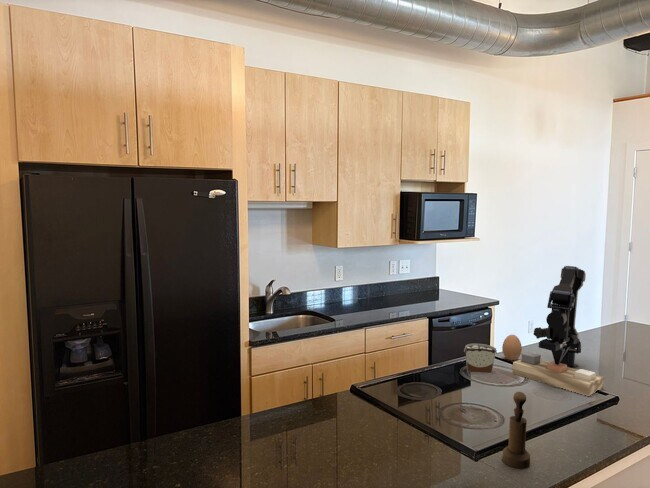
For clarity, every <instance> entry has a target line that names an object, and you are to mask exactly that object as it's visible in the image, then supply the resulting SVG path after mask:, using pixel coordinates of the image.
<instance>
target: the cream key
mask: <svg viewBox="0 0 650 488" xmlns="http://www.w3.org/2000/svg"><path fill="white" fill-rule="evenodd" d="M576 370H577V371H575V376H574V377H576V378H580V379H583V380H587V381H592V380H594V379H595V375H597V374H596V372H594V371H590V370H587V369H583V368H579V369H576Z"/></svg>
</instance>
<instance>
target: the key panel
mask: <svg viewBox="0 0 650 488" xmlns="http://www.w3.org/2000/svg"><path fill="white" fill-rule="evenodd" d="M521 360H522V358H521V359H517V360H514V361H513V362H512V371H511V372H512V373H513V374H512V373H511V374H512V375H515V374H516V375H517V376H518V377H519V376H520V377H521V378H525V377H526V378H525V379H528V378H529V380H532V381H535V380H536V381H535V382H538V381H540V382H539V383H541V382H543V383H542V384H545V383H547V384H546V385H548V384H550V385H549V386H551V385H554V386H557V387H556V388H558V387H560V388H559V389H561V388H563V389H562V390H564V389H566V390H565V391H567V390H569V391H568V392H571V391H572V392H571V393H574V392H576V393H575V394H577V393H580V394H584V395H588V396H589V395H591V394H592V393H594V392H596V391H597V390H601V391H602V390H604V379H605V377H604V376H603V375H598V374H596V375H595V379H594V380H592V381H587V380H583V379H580V378H576V377H574V376H575V371H577V370H578V369H576V368H569V367H567V371H565V372H562V373H559V372H555V371H552V370H548V369H547V364H548V363H550V362H551V361H550V362H549V361H546V360H542V359H540V363H538V364H535V365H532V364H528V363H525V362H521ZM516 375H515V376H516ZM554 386H553V387H554ZM580 394H579V395H580ZM584 395H583V396H584ZM591 396H592V395H591Z"/></svg>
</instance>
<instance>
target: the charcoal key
mask: <svg viewBox="0 0 650 488" xmlns="http://www.w3.org/2000/svg"><path fill="white" fill-rule="evenodd" d="M541 356H542V355H541V354H538V353H535V352H530V351H526V352H524V353H521V359H522V360H521V362H525V363H528V364H532V365H535V364H538V363H540V360H542V359H541Z"/></svg>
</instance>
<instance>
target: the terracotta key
mask: <svg viewBox="0 0 650 488" xmlns="http://www.w3.org/2000/svg"><path fill="white" fill-rule="evenodd" d="M547 369H548V370H552V371H555V372H559V373H562V372H565V371H567V365H566V364H562V363H560V364H559V365H557V364H555V361H554V360H553V361H550V363H548V364H547Z"/></svg>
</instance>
